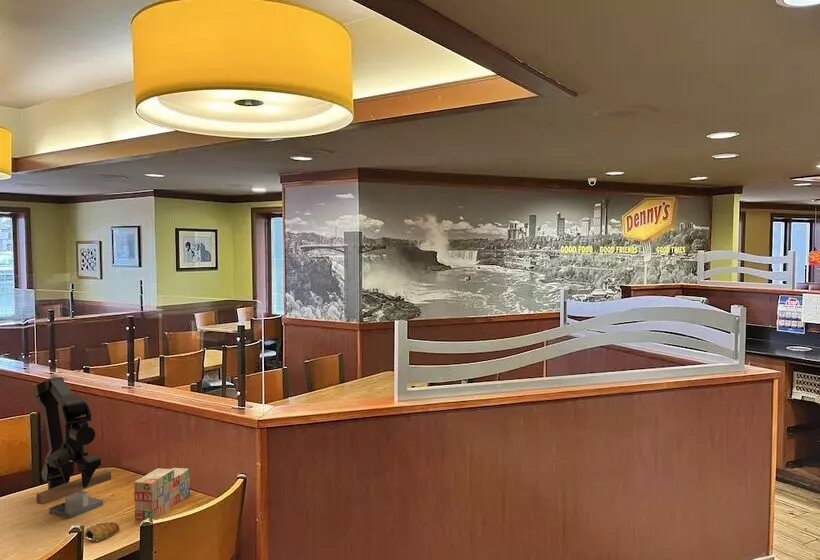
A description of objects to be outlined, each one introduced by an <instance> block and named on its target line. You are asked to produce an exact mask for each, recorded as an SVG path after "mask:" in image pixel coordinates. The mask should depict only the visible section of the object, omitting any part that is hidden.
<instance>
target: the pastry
mask: <svg viewBox="0 0 820 560" xmlns="http://www.w3.org/2000/svg"><path fill="white" fill-rule="evenodd" d="M119 531H120V524H118V523H117V522H114V521H113V522H112V521H111V522H102V523H100V522H99V523H96V524H95V525H90V526H89V527H87V528H86V529H85V531H84V533H85V537H88V538H91V540H92V541H91V542H93V541H96V540H101V541H103V540H104V538H105V539H106V538H107V537H109V536H110V537H112V536H114V535H116V534H117V533H118V532H119ZM116 532H117V533H116ZM115 533H116V534H115ZM113 534H114V535H113ZM111 535H112V536H111ZM85 537H84V538H85ZM110 537H109V538H110ZM102 539H103V540H102ZM107 539H108V538H107Z"/></svg>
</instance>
